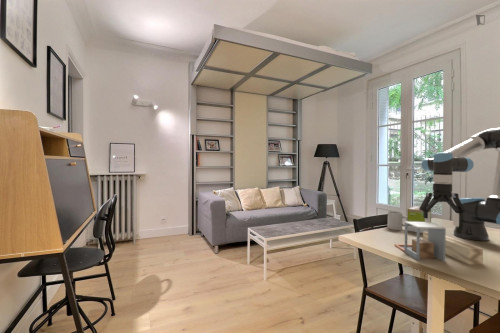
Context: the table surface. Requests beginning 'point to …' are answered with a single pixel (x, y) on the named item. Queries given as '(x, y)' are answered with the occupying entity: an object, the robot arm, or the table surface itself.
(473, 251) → the wooden beam
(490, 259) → the table surface
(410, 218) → the tea box
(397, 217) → the mug
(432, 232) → the grey open frame stool
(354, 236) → the table surface
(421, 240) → the block
